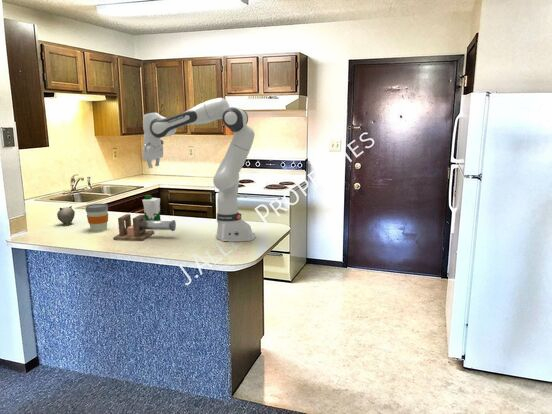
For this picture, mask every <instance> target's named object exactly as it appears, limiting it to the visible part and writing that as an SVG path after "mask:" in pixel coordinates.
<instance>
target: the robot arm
mask: <svg viewBox="0 0 552 414" xmlns="http://www.w3.org/2000/svg"><path fill="white" fill-rule="evenodd" d="M248 116H249V115H248V113H247V111H245V110H244V109H241V108H240V107H233V106H230V104H229V102H228V101H227V99H225V98H224V97H215V98H212V99H208V100H206V101H204V102H201V103H199V104H197V105H195V106H193V107H191V108H189V109H187V110H186V111H184V112H181V113H178V114H176V115H173V116H170V117H165V116H162V115H161V114H159V113H158V112H155V111H154V112H153V111H152V112H147V113H145V114H144V115H143V117H142V129H143V145H144V146H143V148H142V160H143V161H144V162H145V161H146V163H147V166H148V167H147V168H148V169H153V168H154V167H153V163H152V161H153V160H155V163H154V166H155V167H160V162H161V158H163V157H164V146H163V145H164V144H165V143H164V140H162V139H161V138H165V137H171V136H173V135H175V134H176V133H177V130H178V129H179V128H181V127H184V126H188V125H189V126H190V125H203V124H204V125H205V124H209V123H212V122H215V121H218V120H221V119H222V123H223V125H224V126H225V127H226V128H228V129H229V130H230V131H231V133H233V137H232V139H231V140H230V144H229V146H228V148H227V151H226V153H225V155H224V156H223V157H224V158H223V159H222V160H221V162H220V164H219V167H218V168H217V170H216V172H215V174H214V177H213V179H212V180H213V185H214V187H215V188H216V189H217V190H218V194H217V202H216V203H217V213H216V222H217V230H216V235H215V239H216V240H220V241H222V242H223V241H228V242H231V243H232V242H251V241H254V240H255V239H256V237H257V234H256V232H253V230H252V227H251V225H250V224H249V223H247V221H245V220H243V219H242V213H240V212H239V209H238V194H239V181H240V172H241V170H242V168H243V166H244V164H245V163H246V160H247V158H248V155H249V153H250V151H251V148H252V146H253V143H254V139H255V131H254V129H252V127H250V126H248V121H249V117H248Z"/></svg>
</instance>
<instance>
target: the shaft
mask: <svg viewBox="0 0 552 414" xmlns="http://www.w3.org/2000/svg"><path fill="white" fill-rule="evenodd" d="M176 226H177V223H176V220H175V219H174V220H171V221H170V220H161V221H144V220H140V221H139V229H146V230H148V231H158V230H159V231H161V230H162V231H171V232H175V230H176V229H177V227H176Z"/></svg>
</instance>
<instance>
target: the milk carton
mask: <svg viewBox="0 0 552 414" xmlns="http://www.w3.org/2000/svg"><path fill="white" fill-rule="evenodd" d="M141 201H142V205H143V211H144V213H143V215H145V221H162V220H161V205H160V204H161V198H159V197H158V198H157V197H152V194H147V195H144V199H141Z"/></svg>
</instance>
